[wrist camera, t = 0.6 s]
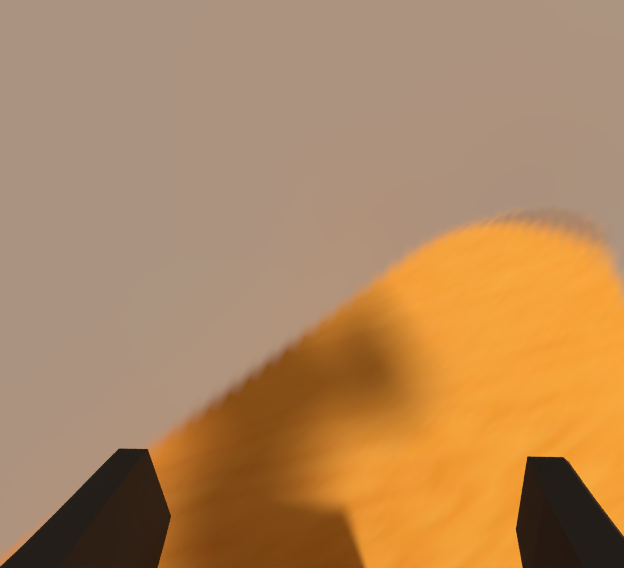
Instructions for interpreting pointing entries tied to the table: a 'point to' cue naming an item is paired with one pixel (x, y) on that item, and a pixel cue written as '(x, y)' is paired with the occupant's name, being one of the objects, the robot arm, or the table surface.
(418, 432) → the table surface
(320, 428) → the table surface
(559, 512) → the robot arm
